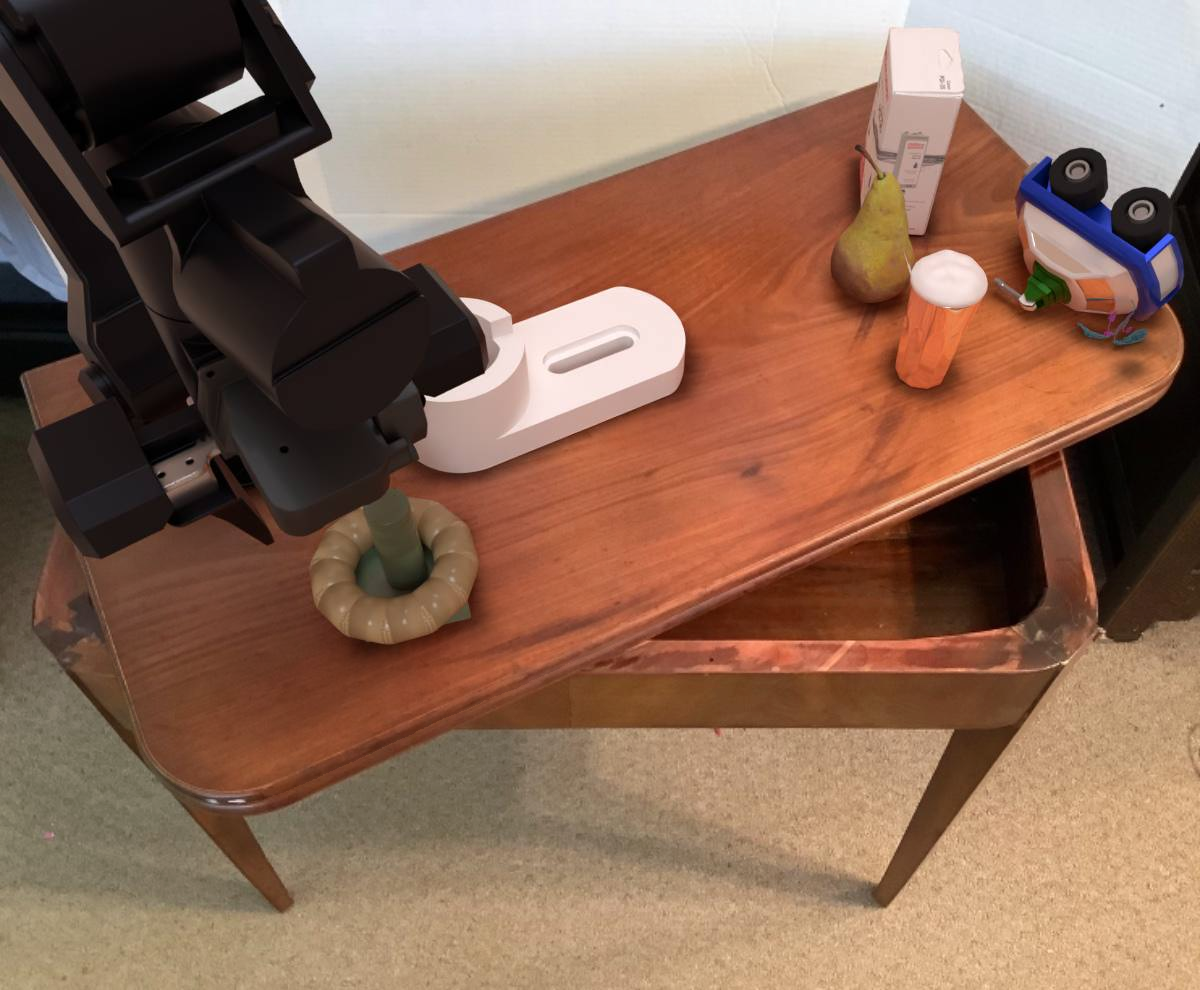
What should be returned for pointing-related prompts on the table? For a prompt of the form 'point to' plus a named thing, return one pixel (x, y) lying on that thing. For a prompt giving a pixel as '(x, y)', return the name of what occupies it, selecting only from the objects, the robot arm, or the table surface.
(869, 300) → the fruit
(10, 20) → the robot arm
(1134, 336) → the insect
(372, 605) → the segmented ring
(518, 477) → the table surface
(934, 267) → the beer glass
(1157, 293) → the toy car
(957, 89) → the ink box
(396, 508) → the stand
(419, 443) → the bracket
